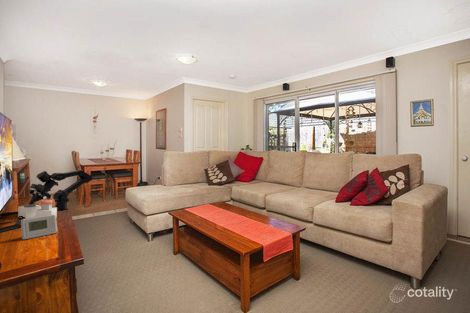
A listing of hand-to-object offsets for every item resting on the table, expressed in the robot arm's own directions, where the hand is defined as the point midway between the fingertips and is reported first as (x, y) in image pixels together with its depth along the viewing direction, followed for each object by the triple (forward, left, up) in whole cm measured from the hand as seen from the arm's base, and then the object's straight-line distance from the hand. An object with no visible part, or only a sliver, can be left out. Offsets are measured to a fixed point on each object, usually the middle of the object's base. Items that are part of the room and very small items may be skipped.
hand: (29, 203), depth 173 cm
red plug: (0, +17, -4) cm, 18 cm away
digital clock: (+22, +45, -9) cm, 51 cm away
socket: (0, 0, -9) cm, 9 cm away
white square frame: (0, +17, -9) cm, 19 cm away
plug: (0, 0, -8) cm, 8 cm away
